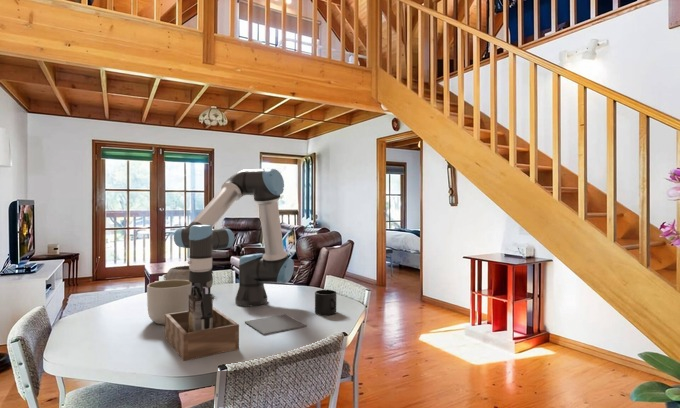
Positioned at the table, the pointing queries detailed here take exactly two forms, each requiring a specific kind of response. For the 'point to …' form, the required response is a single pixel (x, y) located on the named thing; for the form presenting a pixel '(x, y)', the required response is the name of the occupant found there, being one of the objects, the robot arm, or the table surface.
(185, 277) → the bowl
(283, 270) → the robot arm
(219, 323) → the crate
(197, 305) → the coffee box
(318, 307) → the mug
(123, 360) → the table surface
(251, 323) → the mat
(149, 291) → the planter
